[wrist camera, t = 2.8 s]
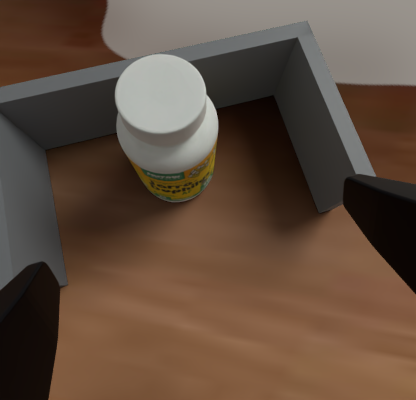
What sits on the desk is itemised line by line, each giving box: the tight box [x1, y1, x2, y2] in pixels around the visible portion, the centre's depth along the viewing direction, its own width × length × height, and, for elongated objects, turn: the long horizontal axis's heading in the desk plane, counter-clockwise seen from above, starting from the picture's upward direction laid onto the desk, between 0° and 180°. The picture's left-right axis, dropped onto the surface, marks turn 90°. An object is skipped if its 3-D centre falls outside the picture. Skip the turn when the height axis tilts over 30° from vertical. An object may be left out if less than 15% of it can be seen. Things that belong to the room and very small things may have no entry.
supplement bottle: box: [115, 54, 218, 202], centre depth 18 cm, size 5×5×10 cm
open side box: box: [0, 21, 376, 290], centre depth 19 cm, size 11×20×6 cm, turn 106°
